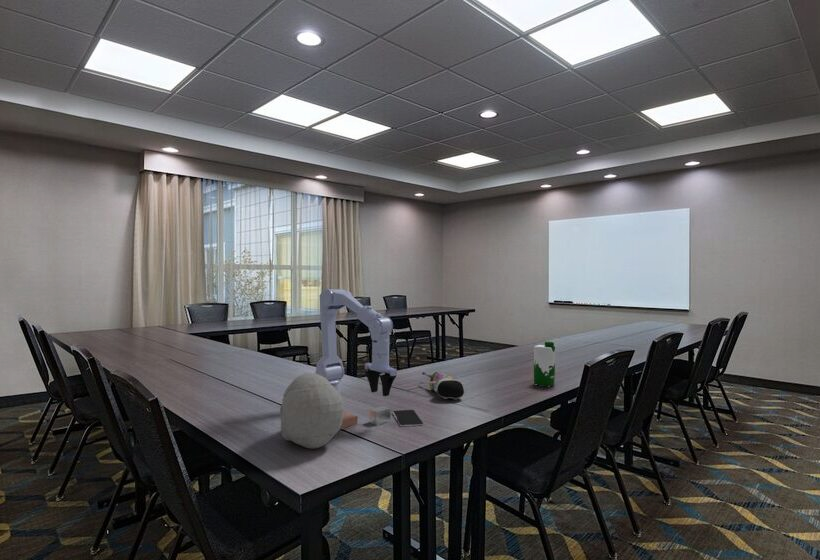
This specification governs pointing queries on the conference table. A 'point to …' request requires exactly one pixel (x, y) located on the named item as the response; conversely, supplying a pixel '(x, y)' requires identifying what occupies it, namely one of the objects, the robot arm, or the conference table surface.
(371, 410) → the grey rectangular block
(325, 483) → the conference table surface
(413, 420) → the smartphone
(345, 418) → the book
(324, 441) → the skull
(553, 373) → the milk carton
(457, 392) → the toy
